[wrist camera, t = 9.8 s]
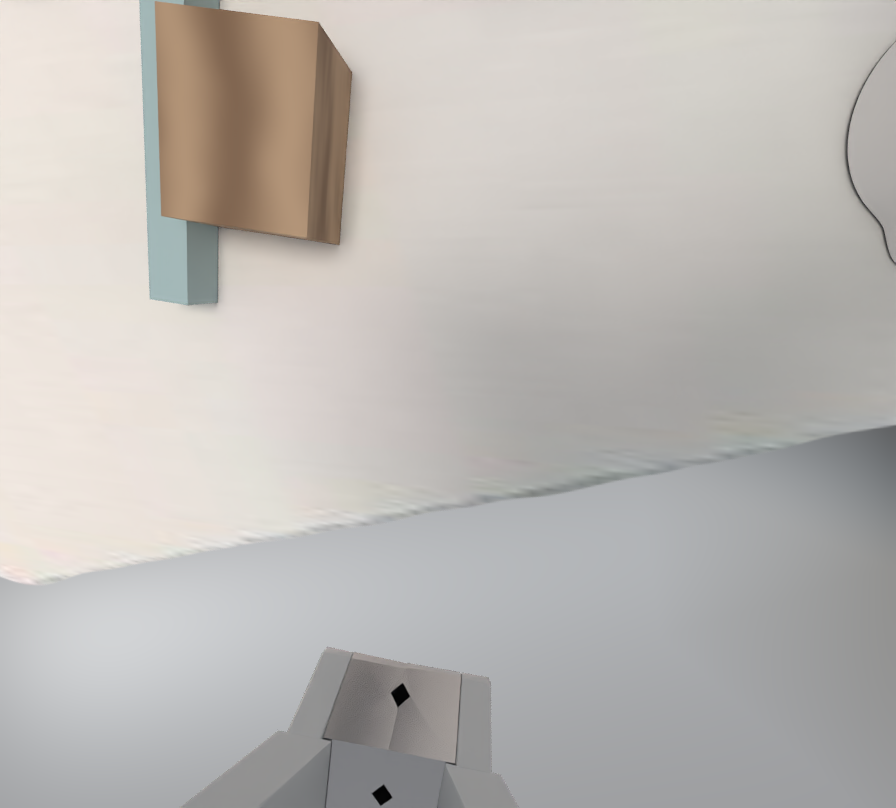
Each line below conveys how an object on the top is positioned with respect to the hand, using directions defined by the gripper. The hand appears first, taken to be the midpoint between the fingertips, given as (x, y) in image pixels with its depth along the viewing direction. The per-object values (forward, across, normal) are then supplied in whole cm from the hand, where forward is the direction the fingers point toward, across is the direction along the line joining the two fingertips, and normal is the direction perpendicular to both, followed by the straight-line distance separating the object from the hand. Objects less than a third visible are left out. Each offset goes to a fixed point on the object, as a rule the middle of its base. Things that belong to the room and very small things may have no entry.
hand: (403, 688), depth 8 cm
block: (+31, +17, -14) cm, 38 cm away
